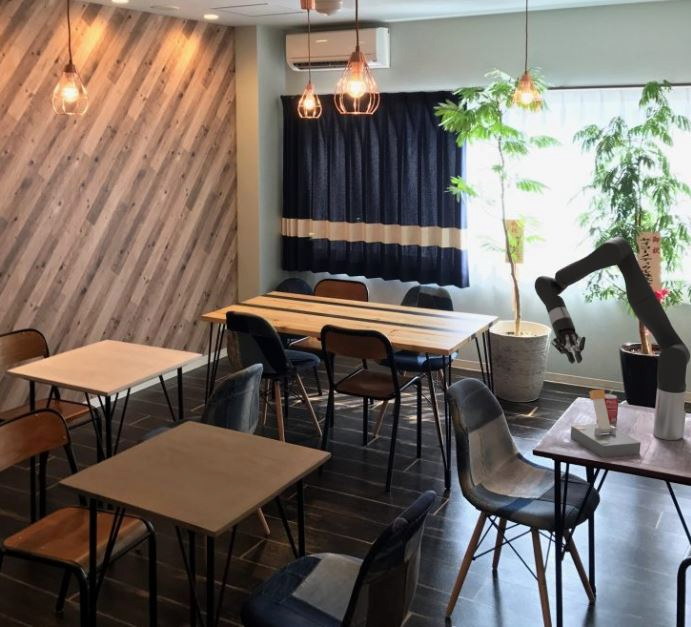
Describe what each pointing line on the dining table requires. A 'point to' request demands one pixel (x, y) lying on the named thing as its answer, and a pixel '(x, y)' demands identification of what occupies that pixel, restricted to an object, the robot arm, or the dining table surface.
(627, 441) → the switch panel
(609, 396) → the soda can
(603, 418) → the lever
